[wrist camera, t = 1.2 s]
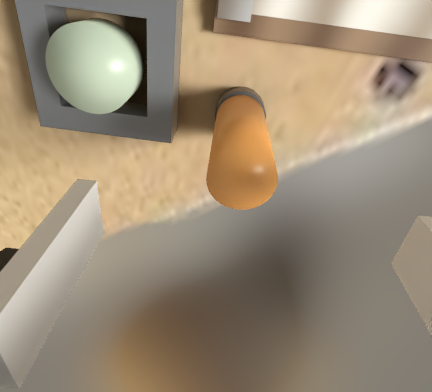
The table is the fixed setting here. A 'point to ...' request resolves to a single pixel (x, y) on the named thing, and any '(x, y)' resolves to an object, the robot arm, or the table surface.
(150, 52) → the button housing
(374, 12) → the board
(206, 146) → the table surface
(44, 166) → the table surface
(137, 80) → the button
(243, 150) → the marker
